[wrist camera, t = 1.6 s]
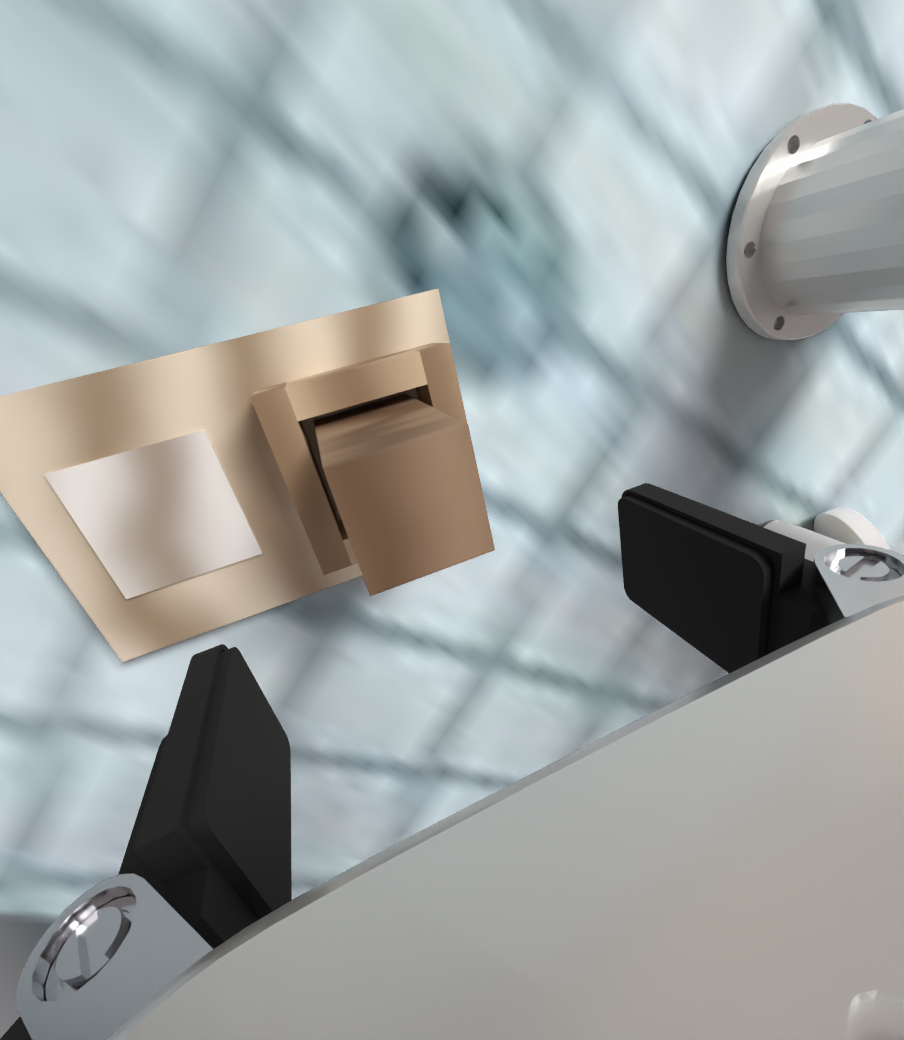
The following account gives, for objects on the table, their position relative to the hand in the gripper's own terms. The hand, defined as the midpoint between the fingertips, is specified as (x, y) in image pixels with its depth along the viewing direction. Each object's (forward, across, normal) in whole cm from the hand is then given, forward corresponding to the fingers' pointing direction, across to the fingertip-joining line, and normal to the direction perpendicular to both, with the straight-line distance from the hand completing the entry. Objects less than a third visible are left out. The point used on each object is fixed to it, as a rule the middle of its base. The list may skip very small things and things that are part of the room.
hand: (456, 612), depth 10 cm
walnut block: (+16, -1, 0) cm, 16 cm away
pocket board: (+17, +5, 0) cm, 18 cm away
